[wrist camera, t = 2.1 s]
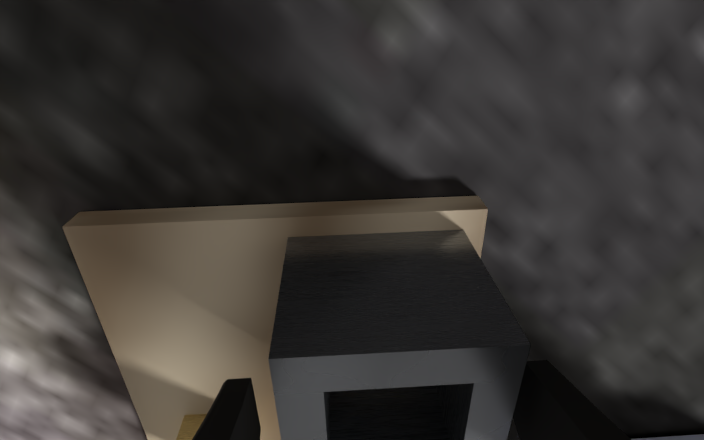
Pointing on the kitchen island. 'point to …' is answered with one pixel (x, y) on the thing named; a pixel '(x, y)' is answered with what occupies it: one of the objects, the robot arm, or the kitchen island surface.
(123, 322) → the plate
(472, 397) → the grey hollow square block
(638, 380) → the kitchen island surface
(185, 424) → the brass post
